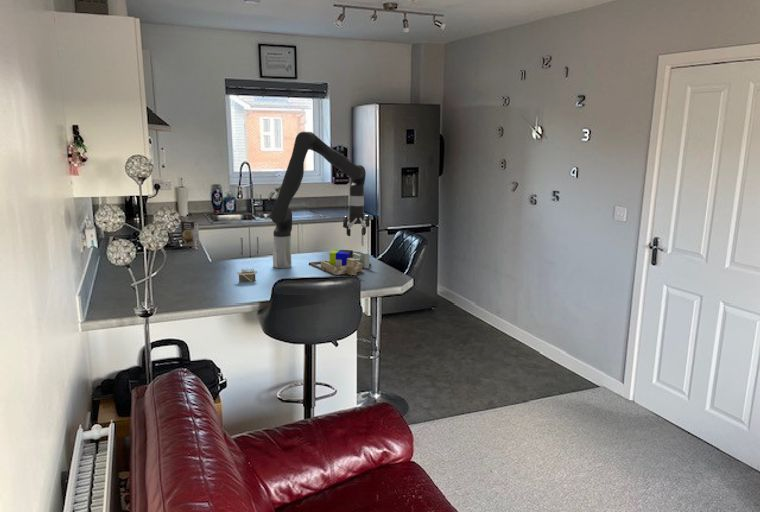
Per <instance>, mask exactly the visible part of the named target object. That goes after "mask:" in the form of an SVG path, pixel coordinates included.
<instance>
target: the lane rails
mask: <svg viewBox="0 0 760 512" xmlns="http://www.w3.org/2000/svg"><path fill="white" fill-rule="evenodd" d="M321 261H322V260H320V261H310V262H308V265H309V266H311V267H314V268H316V269H319V270H320V271H322V272H326V270H325V269H324V268H322V267H321ZM319 265H320V266H319ZM371 266H372V263H370V262H369V267H371Z"/></svg>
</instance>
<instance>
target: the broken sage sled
mask: <svg viewBox="0 0 760 512" xmlns="http://www.w3.org/2000/svg"><path fill="white" fill-rule="evenodd" d="M369 257H370V254H369V253H368V252H365V251H360V252H359V253H356V252H353V259H355V260H357V262H358V263H361V264H362V269H368V268H370V266H369V263H370V258H369Z"/></svg>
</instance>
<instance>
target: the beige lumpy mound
mask: <svg viewBox="0 0 760 512" xmlns="http://www.w3.org/2000/svg"><path fill="white" fill-rule="evenodd" d="M320 261H321V264H320V267H322V268H324V269H325V272H328V273H331V274H333V275H344V274H348V275H350V276H352V275H354V276H357V275H358V274H357V273H359V272H363V267H362V264H361V263H358V262H357V260H355V259H353V258H347V265H345V266H337V267H336V266H333V265H331V264H330V259H327V260H320Z"/></svg>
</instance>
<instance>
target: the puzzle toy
mask: <svg viewBox="0 0 760 512" xmlns="http://www.w3.org/2000/svg"><path fill="white" fill-rule="evenodd" d="M353 253H354V251H353V250H350V249H333V250H331V251H330V252H329V260H330V264H331V265H333V266H336V267H337V266H345V265H347V258H353Z"/></svg>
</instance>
